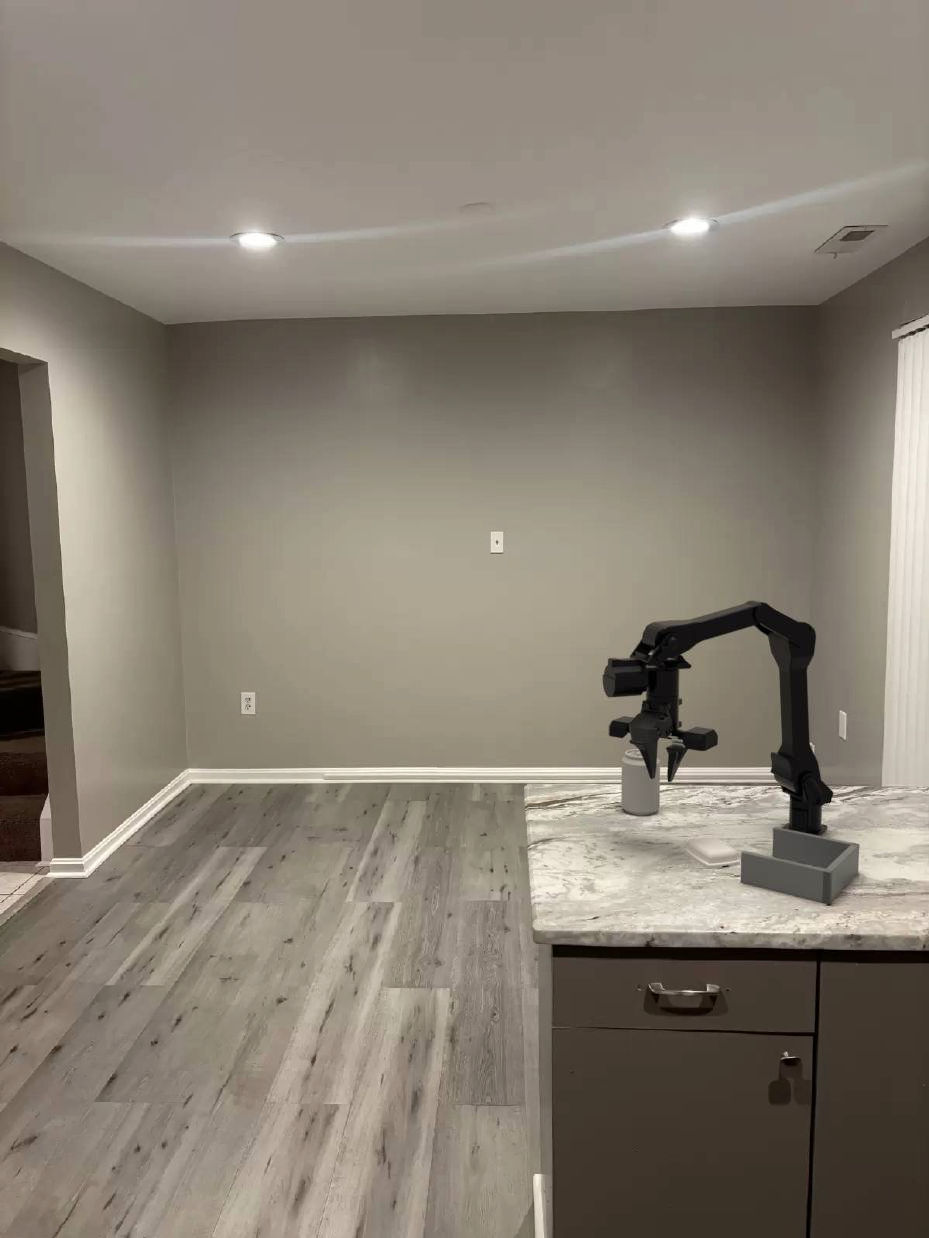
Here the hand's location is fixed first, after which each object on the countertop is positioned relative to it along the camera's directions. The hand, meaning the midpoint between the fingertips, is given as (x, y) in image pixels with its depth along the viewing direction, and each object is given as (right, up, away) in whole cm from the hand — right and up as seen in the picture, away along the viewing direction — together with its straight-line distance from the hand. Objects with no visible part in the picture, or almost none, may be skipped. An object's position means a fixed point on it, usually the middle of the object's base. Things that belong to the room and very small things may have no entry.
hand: (661, 780), depth 168 cm
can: (0, -10, +21) cm, 23 cm away
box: (+20, -14, -14) cm, 28 cm away
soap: (+8, -13, -5) cm, 16 cm away
